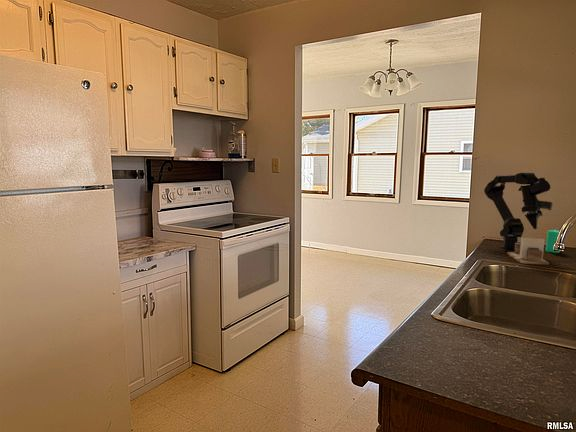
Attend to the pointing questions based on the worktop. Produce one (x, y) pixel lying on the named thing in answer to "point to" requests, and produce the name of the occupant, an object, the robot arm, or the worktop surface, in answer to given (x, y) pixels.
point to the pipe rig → (532, 257)
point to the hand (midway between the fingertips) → (535, 229)
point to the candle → (551, 240)
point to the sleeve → (531, 246)
